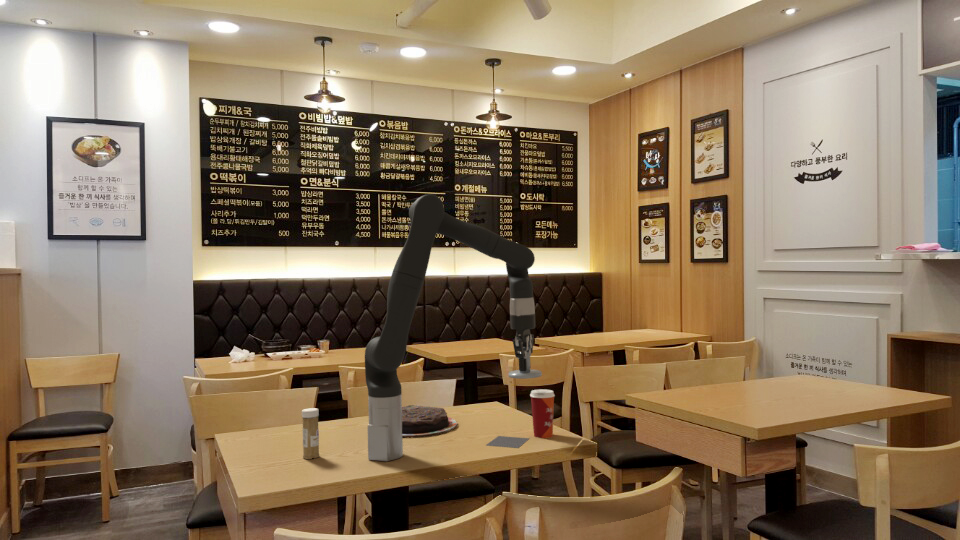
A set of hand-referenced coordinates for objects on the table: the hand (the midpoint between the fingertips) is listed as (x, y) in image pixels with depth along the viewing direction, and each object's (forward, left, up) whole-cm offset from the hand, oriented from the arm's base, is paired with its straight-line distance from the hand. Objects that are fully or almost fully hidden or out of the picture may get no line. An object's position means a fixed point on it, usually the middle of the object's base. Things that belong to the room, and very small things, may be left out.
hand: (524, 369), depth 192 cm
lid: (0, 0, -2) cm, 2 cm away
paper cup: (+5, -4, -21) cm, 22 cm away
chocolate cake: (+5, +40, -22) cm, 46 cm away
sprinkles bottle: (-35, +52, -21) cm, 66 cm away
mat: (-5, +4, -21) cm, 22 cm away
